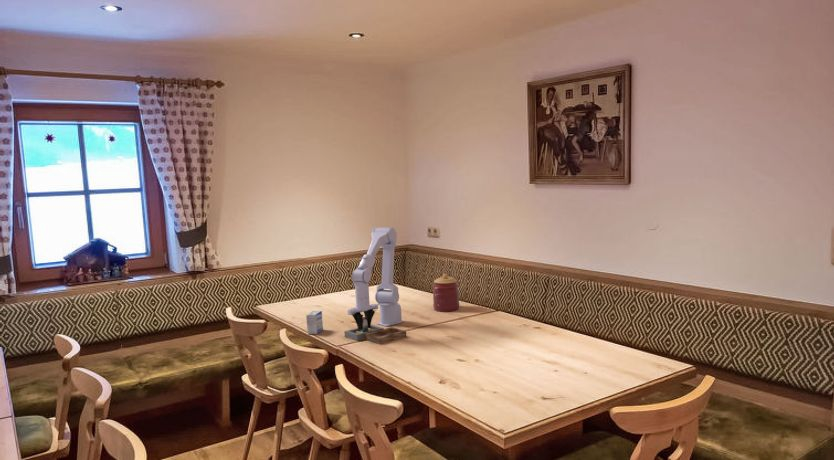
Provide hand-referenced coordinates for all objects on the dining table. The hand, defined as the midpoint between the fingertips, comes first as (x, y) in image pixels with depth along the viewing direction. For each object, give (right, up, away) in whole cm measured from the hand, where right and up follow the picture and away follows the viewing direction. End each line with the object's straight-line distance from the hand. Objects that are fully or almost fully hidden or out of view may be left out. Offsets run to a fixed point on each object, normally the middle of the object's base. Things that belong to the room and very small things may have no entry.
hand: (364, 328), depth 256 cm
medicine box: (-22, -3, +10) cm, 25 cm away
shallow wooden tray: (+10, -3, -6) cm, 11 cm away
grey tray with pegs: (0, -3, 0) cm, 3 cm away
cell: (0, -2, 0) cm, 2 cm away
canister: (+37, +3, +41) cm, 55 cm away
